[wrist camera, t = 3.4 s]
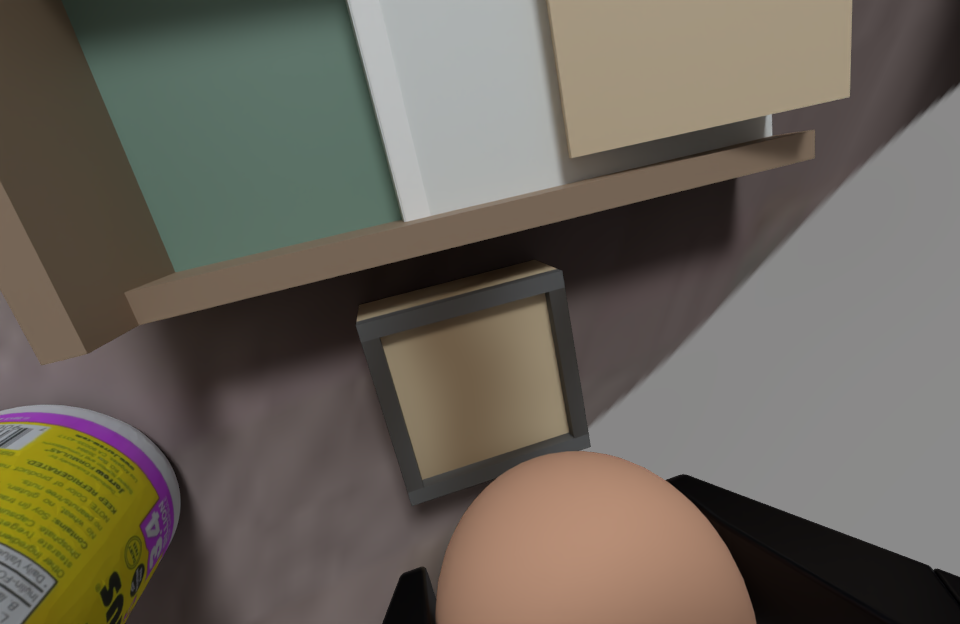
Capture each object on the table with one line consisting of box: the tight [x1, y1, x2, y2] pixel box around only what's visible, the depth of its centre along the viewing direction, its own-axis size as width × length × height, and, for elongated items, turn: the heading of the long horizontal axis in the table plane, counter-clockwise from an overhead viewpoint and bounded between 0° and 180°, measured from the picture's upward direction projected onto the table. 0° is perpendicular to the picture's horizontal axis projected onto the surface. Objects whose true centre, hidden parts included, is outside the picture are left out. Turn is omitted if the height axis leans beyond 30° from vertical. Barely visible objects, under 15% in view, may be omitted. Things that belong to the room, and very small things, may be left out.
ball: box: [435, 451, 756, 624], centre depth 7 cm, size 4×4×4 cm
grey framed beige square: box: [356, 260, 591, 506], centre depth 15 cm, size 6×6×2 cm
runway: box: [0, 0, 852, 366], centre depth 11 cm, size 19×10×5 cm, turn 103°
